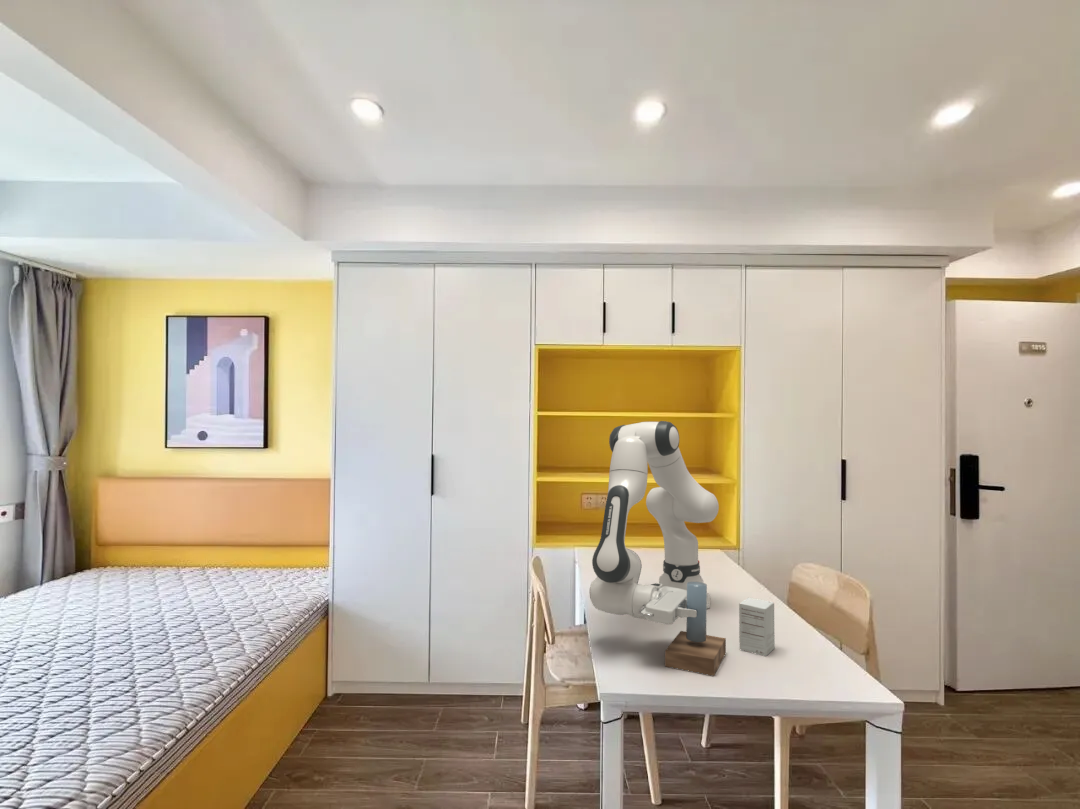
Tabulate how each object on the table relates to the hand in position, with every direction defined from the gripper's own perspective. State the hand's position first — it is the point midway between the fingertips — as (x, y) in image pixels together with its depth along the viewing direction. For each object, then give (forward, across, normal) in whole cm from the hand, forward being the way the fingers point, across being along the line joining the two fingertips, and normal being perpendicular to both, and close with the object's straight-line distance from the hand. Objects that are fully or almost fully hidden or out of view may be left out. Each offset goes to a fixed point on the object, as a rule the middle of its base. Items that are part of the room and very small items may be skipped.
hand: (699, 609), depth 157 cm
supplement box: (+12, +15, +13) cm, 23 cm away
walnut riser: (-1, 0, +13) cm, 13 cm away
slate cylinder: (-1, 0, +8) cm, 8 cm away
